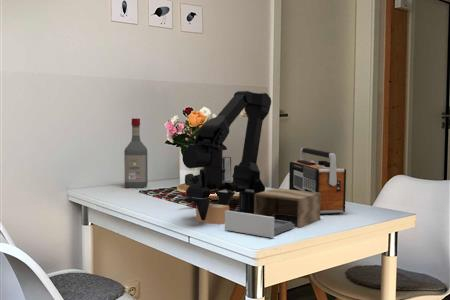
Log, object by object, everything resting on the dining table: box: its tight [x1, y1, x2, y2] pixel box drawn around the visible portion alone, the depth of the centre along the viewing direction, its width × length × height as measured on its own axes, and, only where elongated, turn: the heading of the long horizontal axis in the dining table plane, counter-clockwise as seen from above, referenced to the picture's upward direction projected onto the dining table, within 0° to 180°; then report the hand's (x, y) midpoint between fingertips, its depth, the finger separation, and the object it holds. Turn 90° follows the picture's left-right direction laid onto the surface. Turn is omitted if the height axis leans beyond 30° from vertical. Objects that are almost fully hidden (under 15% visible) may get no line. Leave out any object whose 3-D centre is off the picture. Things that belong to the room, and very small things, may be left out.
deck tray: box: [224, 210, 295, 239], centre depth 136 cm, size 14×15×5 cm
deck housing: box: [254, 187, 321, 229], centre depth 148 cm, size 14×15×8 cm
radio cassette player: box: [288, 147, 347, 215], centre depth 169 cm, size 29×10×20 cm, turn 11°
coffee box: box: [222, 156, 232, 181], centre depth 183 cm, size 9×6×16 cm
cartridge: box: [195, 202, 230, 225], centre depth 146 cm, size 9×4×5 cm, turn 55°
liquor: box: [123, 118, 149, 189], centre depth 213 cm, size 9×9×30 cm
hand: (212, 217), depth 146 cm, fingers open, 9 cm apart
